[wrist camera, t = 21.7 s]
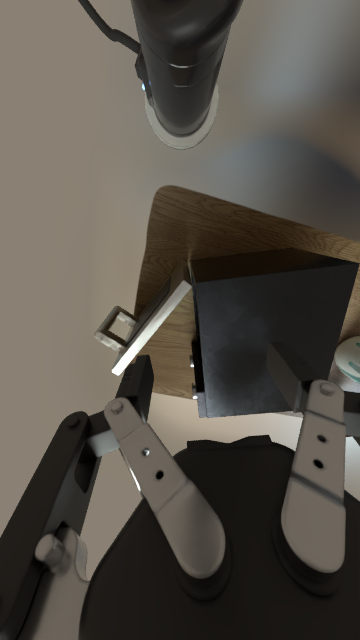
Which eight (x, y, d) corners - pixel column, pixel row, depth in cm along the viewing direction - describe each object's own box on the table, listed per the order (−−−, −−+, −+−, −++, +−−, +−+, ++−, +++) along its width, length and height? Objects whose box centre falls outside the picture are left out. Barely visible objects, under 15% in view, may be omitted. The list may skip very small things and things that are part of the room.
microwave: (190, 362, 56) (195, 419, 40) (178, 261, 44) (178, 284, 28) (278, 353, 55) (319, 408, 39) (291, 247, 43) (359, 263, 26)
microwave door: (111, 311, 49) (79, 354, 33) (159, 241, 42) (148, 252, 26) (137, 328, 51) (118, 375, 35) (187, 263, 44) (192, 286, 28)
